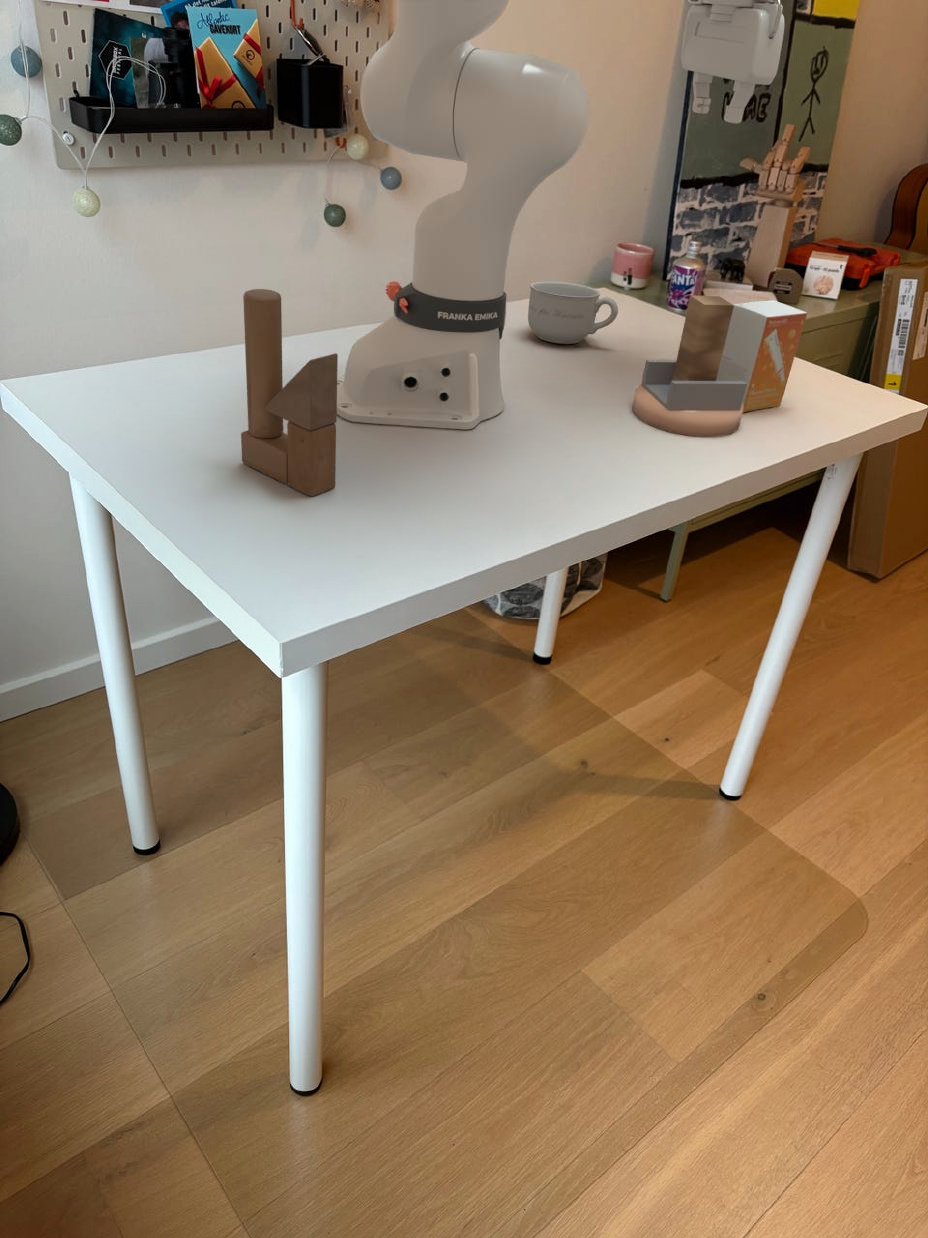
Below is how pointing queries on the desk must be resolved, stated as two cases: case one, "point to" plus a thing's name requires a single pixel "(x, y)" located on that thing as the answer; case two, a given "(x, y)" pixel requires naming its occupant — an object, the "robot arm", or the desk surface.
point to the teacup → (566, 311)
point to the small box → (761, 350)
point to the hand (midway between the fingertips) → (715, 117)
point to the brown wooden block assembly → (287, 404)
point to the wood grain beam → (703, 338)
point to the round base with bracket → (687, 402)
